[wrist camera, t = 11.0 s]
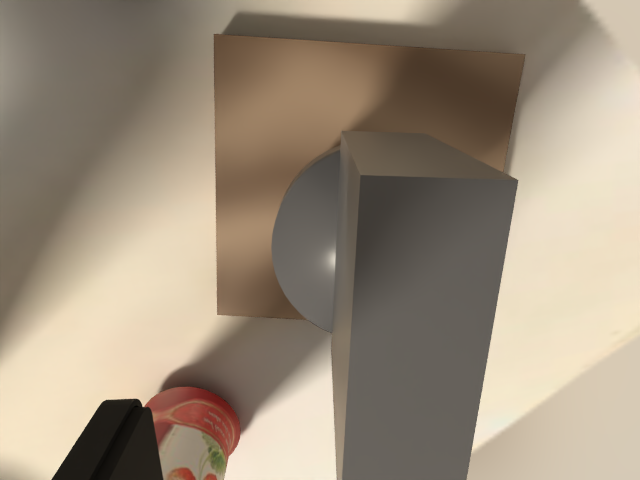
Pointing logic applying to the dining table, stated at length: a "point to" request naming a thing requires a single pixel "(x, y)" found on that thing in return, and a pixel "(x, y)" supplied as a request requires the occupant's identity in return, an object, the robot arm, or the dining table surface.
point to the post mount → (331, 131)
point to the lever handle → (398, 294)
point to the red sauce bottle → (193, 433)
